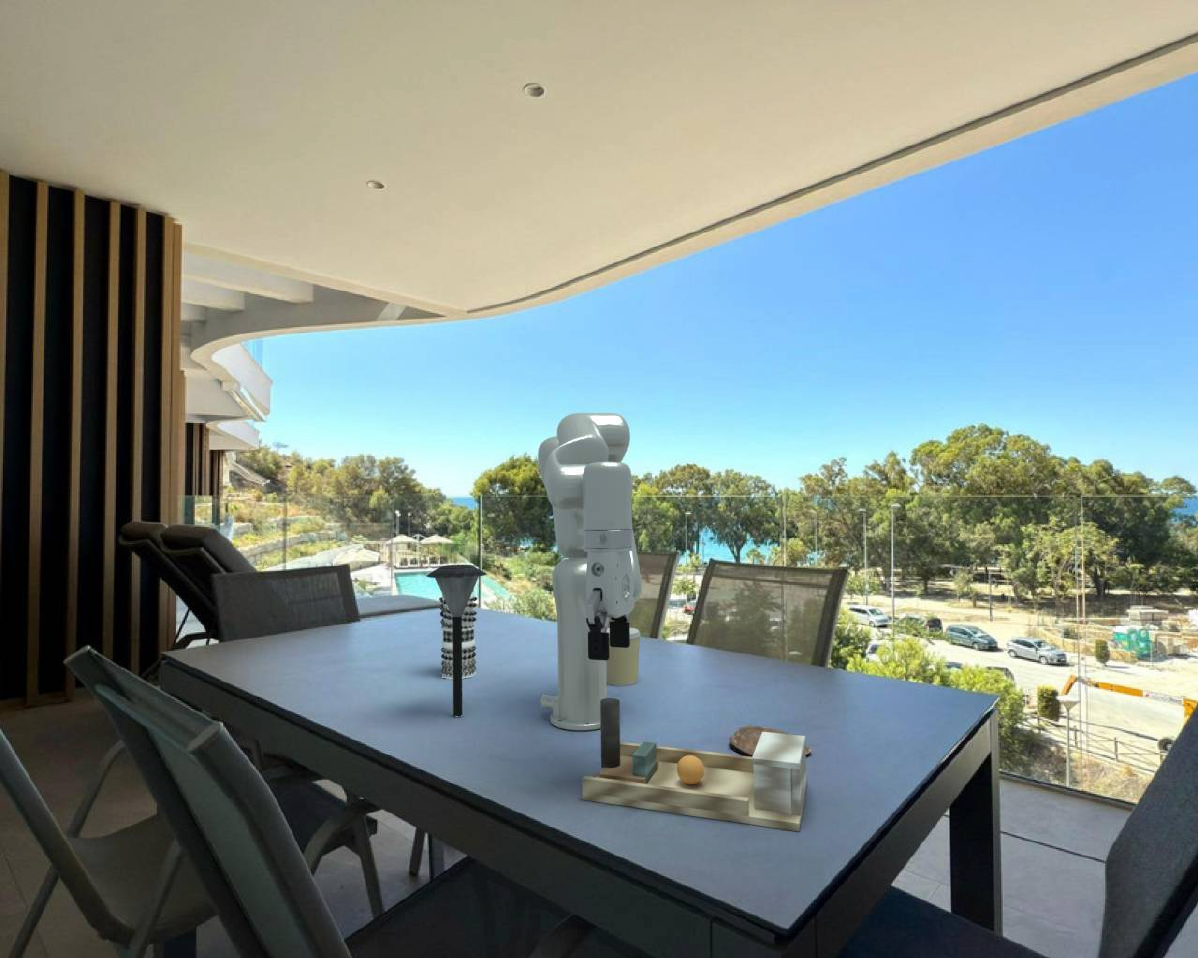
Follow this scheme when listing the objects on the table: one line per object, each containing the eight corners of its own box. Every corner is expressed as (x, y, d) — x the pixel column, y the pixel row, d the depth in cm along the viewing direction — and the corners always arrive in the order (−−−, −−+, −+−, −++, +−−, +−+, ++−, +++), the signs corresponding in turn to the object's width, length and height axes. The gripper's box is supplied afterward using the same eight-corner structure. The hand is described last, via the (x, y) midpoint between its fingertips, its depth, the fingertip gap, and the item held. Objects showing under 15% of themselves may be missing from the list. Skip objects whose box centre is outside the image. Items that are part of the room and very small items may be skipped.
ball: (674, 786, 101) (673, 759, 101) (680, 776, 105) (680, 749, 105) (701, 790, 100) (700, 762, 100) (706, 779, 103) (706, 752, 103)
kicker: (592, 779, 103) (591, 707, 104) (610, 760, 111) (609, 693, 111) (643, 786, 101) (642, 712, 101) (658, 766, 108) (657, 697, 108)
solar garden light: (501, 714, 139) (499, 565, 140) (450, 730, 130) (449, 570, 131) (463, 703, 148) (462, 562, 148) (413, 717, 138) (413, 566, 139)
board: (582, 799, 99) (582, 744, 100) (618, 759, 114) (617, 712, 115) (799, 831, 89) (798, 770, 89) (807, 783, 104) (806, 730, 104)
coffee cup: (641, 676, 168) (641, 626, 168) (640, 687, 159) (639, 634, 159) (603, 676, 169) (603, 626, 169) (599, 686, 160) (599, 634, 160)
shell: (759, 769, 111) (758, 746, 111) (716, 743, 123) (716, 723, 123) (817, 757, 115) (816, 735, 115) (770, 734, 127) (770, 714, 127)
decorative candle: (470, 681, 166) (469, 576, 166) (433, 680, 167) (433, 576, 168) (482, 671, 175) (482, 572, 176) (447, 670, 176) (447, 572, 177)
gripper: (612, 544, 98) (614, 666, 97) (646, 539, 114) (648, 644, 113) (563, 544, 101) (565, 663, 100) (604, 539, 117) (605, 641, 116)
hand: (609, 653), depth 107 cm, fingers open, 9 cm apart
